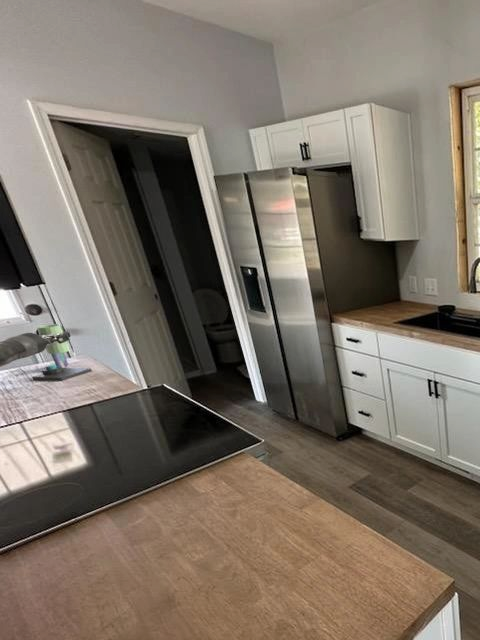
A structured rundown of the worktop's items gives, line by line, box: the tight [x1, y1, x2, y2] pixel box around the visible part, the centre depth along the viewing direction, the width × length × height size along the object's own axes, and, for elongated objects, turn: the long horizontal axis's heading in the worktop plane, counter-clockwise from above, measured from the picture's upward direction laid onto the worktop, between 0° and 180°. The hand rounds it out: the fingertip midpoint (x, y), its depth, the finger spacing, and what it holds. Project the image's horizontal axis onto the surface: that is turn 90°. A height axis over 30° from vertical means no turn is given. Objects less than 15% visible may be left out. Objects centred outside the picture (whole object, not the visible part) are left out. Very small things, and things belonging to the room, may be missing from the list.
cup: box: [36, 323, 71, 355], centre depth 155 cm, size 6×6×10 cm
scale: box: [31, 366, 93, 382], centre depth 165 cm, size 13×11×3 cm
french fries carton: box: [50, 352, 69, 368], centre depth 174 cm, size 9×3×11 cm, turn 37°
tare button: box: [45, 364, 57, 370], centre depth 164 cm, size 3×3×2 cm
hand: (57, 335), depth 157 cm, fingers closed on cup, 6 cm apart
